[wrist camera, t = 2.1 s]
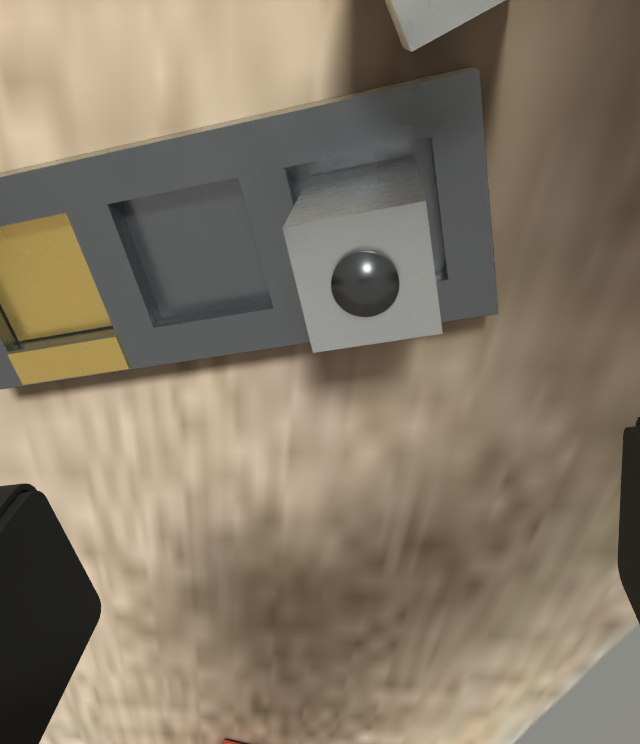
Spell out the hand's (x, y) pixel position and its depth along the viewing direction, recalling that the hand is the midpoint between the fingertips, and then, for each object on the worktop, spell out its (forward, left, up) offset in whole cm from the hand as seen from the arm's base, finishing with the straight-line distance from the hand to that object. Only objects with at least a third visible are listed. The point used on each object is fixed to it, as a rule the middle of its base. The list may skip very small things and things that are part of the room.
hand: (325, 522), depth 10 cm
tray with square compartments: (+8, 0, -21) cm, 22 cm away
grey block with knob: (0, 0, -19) cm, 19 cm away
